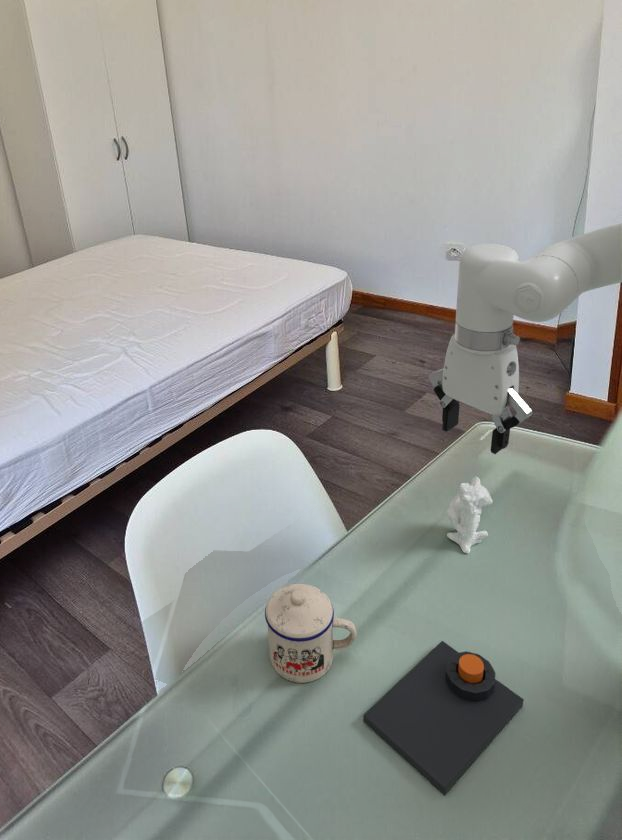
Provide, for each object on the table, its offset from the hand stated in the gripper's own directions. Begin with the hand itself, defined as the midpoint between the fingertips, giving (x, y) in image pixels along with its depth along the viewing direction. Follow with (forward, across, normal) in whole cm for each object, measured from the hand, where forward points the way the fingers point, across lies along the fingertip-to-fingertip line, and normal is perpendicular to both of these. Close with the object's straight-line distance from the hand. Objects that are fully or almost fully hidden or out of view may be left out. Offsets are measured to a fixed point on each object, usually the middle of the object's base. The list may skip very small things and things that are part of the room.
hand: (473, 437), depth 103 cm
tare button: (+17, -16, +23) cm, 33 cm away
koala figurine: (+20, 0, 0) cm, 20 cm away
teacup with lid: (+20, +1, +34) cm, 40 cm away
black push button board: (+20, -16, +28) cm, 38 cm away
